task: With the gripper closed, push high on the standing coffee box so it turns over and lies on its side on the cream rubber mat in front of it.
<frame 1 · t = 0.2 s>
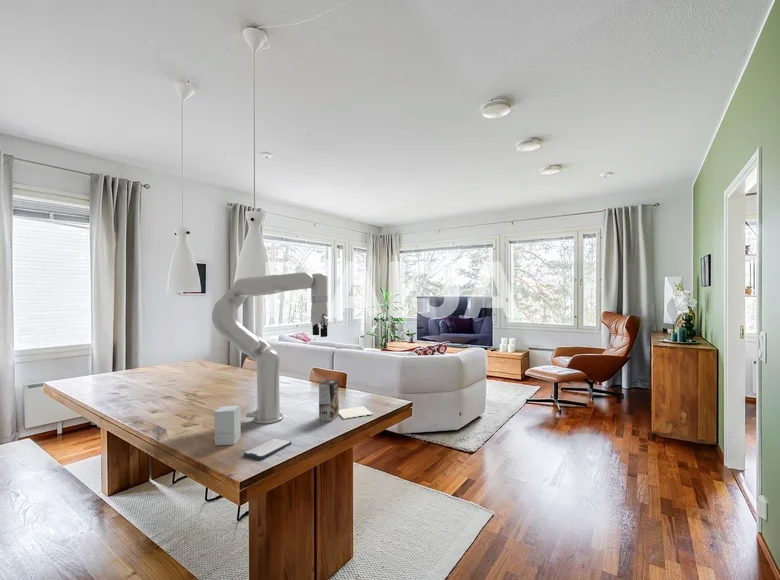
hand: (319, 335, 178), 36 cm above the table, tool pointing down, fingers open, 9 cm apart
cream mat: (353, 413, 176), on the table
phone case: (268, 451, 135), on the table
supplement box: (228, 442, 143), on the table
coffee box: (329, 418, 170), on the table
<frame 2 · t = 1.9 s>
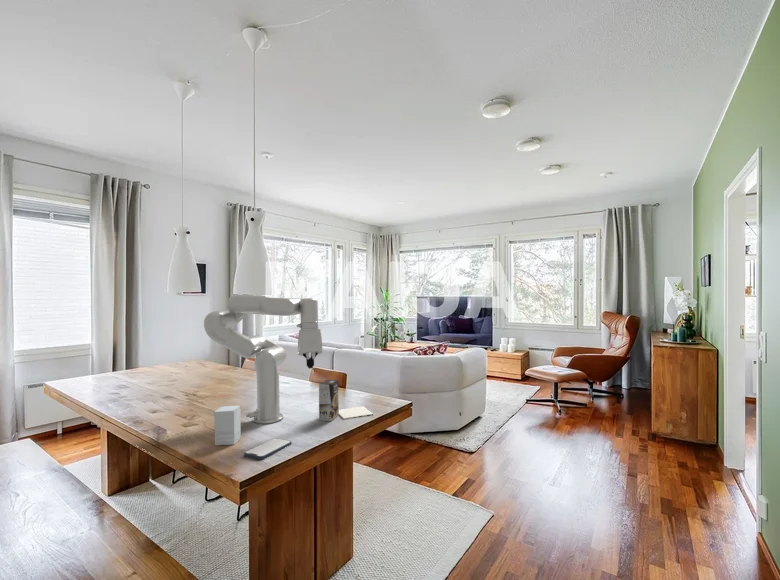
hand: (310, 367, 167), 23 cm above the table, tool pointing down, fingers closed
nothing on the table moved.
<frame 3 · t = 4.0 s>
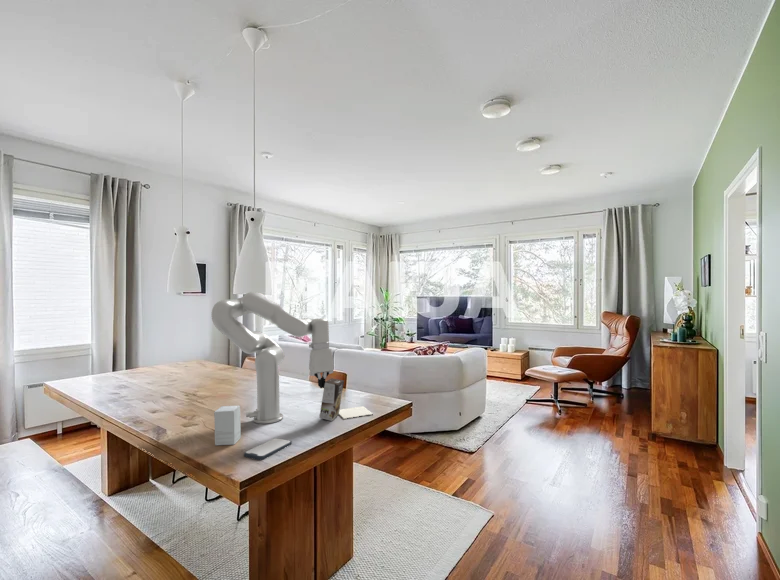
hand: (321, 387, 168), 14 cm above the table, tool pointing down, fingers closed
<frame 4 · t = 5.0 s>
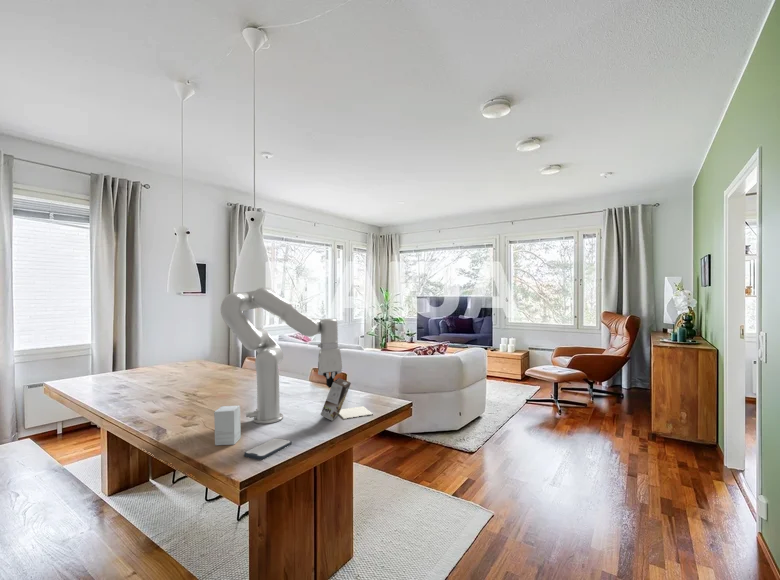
hand: (330, 386, 170), 14 cm above the table, tool pointing down, fingers closed
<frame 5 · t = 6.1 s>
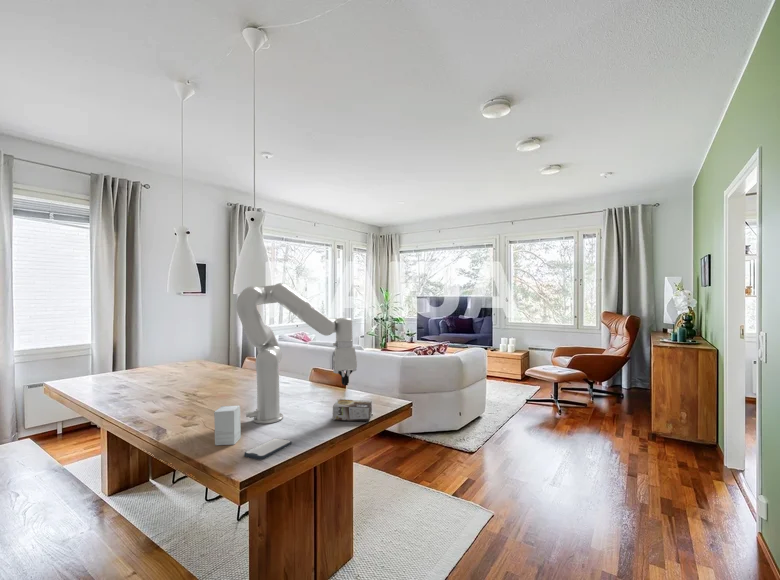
hand: (345, 384, 173), 14 cm above the table, tool pointing down, fingers closed
coffee box: (334, 409, 169), point 4 cm above the table, touching cream mat
everything else where it was.
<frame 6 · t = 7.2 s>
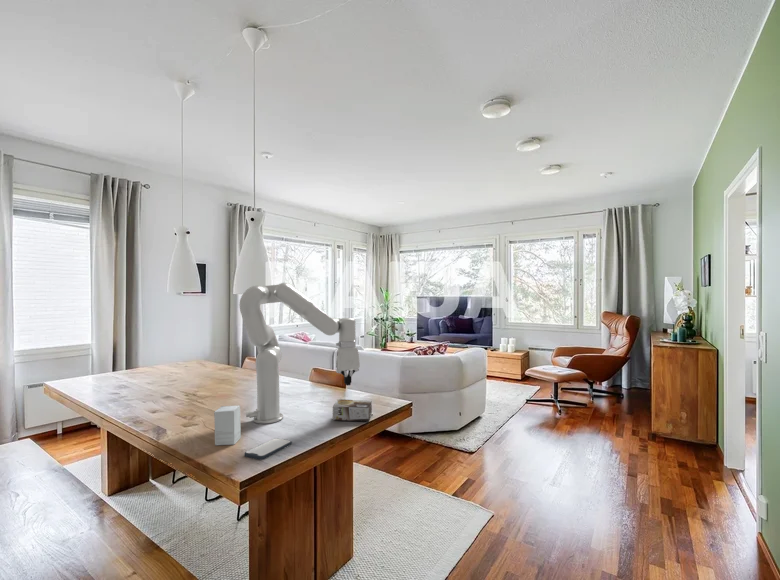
hand: (347, 384, 174), 14 cm above the table, tool pointing down, fingers closed
nothing on the table moved.
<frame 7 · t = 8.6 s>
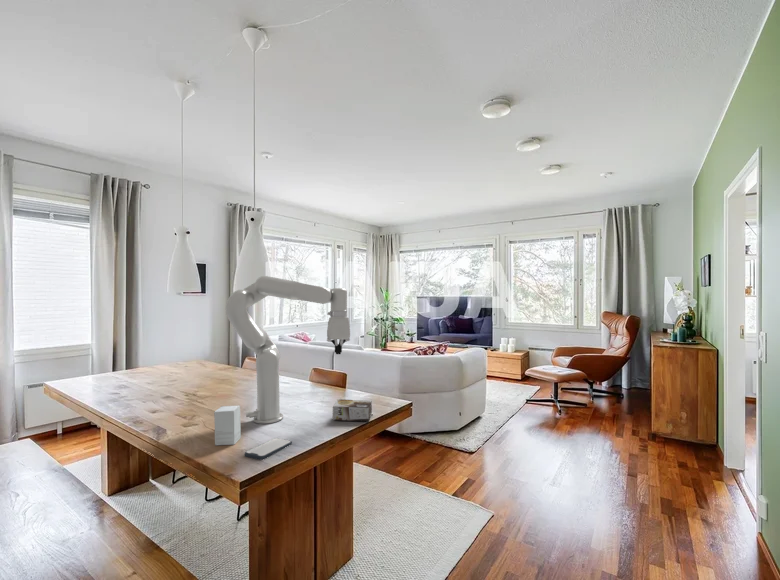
hand: (338, 353, 176), 28 cm above the table, tool pointing down, fingers closed
nothing on the table moved.
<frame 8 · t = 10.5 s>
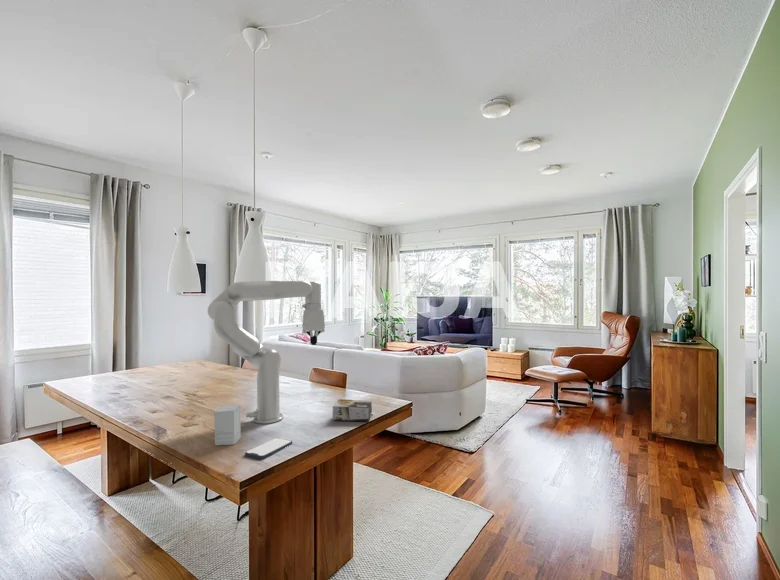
hand: (313, 344, 184), 31 cm above the table, tool pointing down, fingers closed
nothing on the table moved.
at the end: coffee box tilted 92°; coffee box touching cream mat, table; coffee box inside the target area on the table beside the cream mat (2.7 cm from its centre), point 4.1 cm above the table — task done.
